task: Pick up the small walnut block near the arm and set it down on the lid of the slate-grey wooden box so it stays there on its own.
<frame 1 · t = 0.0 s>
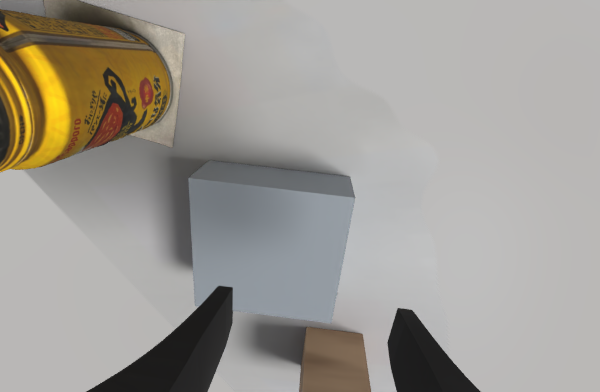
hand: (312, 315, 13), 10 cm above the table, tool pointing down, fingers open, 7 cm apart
condiment: (117, 75, 20), on the table
slate box: (275, 227, 24), on the table
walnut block: (330, 349, 28), on the table
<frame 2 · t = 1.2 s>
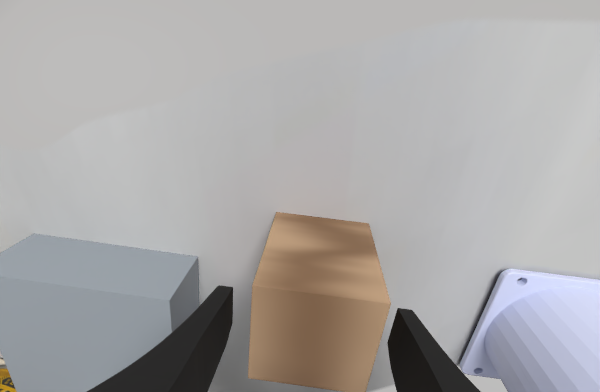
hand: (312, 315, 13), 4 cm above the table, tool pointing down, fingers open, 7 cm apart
slate box: (128, 305, 20), on the table
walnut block: (316, 255, 17), on the table
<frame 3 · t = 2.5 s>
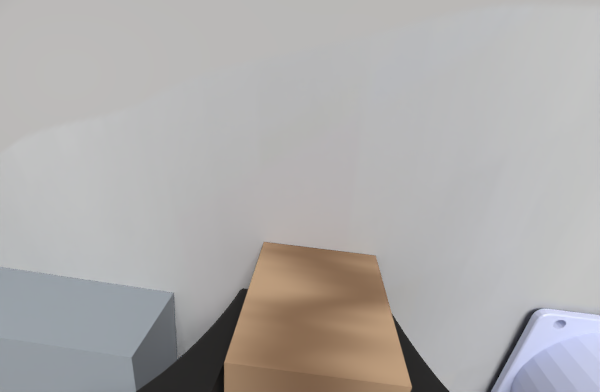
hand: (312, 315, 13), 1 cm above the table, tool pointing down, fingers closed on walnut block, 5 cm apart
slate box: (94, 343, 18), on the table
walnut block: (313, 292, 15), on the table, touching gripper
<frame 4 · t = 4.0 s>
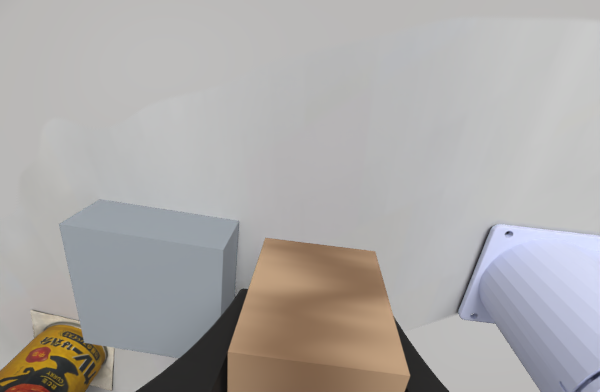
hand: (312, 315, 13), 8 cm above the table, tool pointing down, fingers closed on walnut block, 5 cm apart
condiment: (77, 349, 28), on the table
slate box: (173, 264, 24), on the table
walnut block: (313, 288, 15), point 7 cm above the table, touching gripper
when the fingers open (6 cm above the table, at t = 5.9 s): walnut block drops 1 cm, resting on slate box.
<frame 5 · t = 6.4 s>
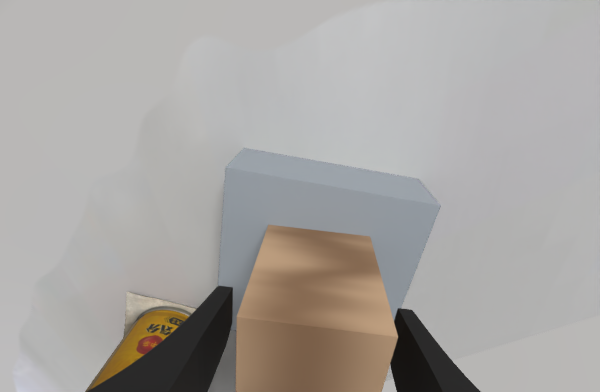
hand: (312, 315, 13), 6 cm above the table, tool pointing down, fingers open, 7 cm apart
condiment: (172, 339, 24), on the table
slate box: (315, 234, 20), on the table, touching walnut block
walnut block: (313, 271, 16), point 4 cm above the table, touching slate box
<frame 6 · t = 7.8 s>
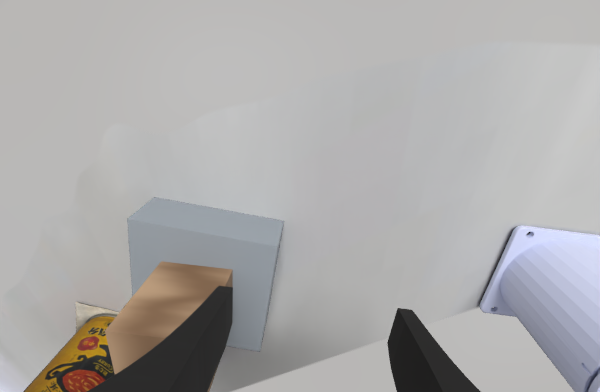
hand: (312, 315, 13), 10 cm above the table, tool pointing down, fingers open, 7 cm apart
condiment: (116, 339, 30), on the table
slate box: (217, 259, 26), on the table, touching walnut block
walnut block: (198, 293, 22), point 4 cm above the table, touching slate box
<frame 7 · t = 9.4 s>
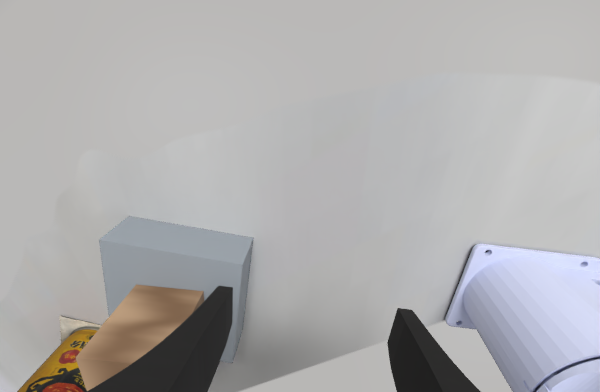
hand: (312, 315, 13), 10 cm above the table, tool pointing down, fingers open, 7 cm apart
condiment: (99, 351, 31), on the table
slate box: (192, 273, 27), on the table
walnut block: (173, 313, 23), point 4 cm above the table
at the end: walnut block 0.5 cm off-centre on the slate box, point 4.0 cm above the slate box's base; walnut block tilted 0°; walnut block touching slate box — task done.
